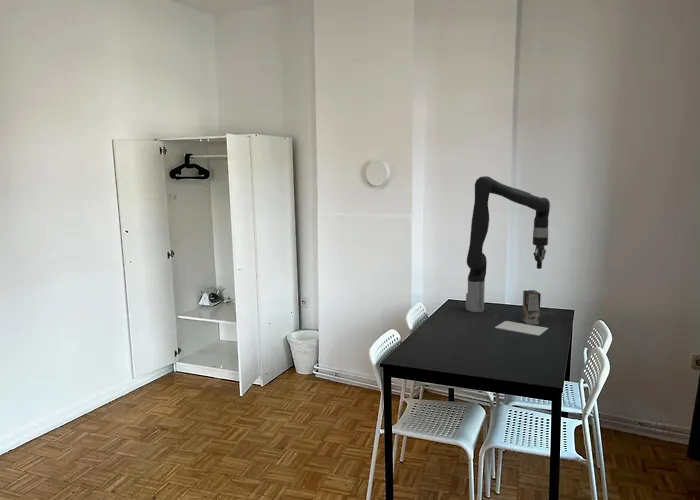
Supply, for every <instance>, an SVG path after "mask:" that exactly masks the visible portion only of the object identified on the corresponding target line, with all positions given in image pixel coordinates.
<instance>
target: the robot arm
mask: <svg viewBox="0 0 700 500" xmlns="http://www.w3.org/2000/svg"><path fill="white" fill-rule="evenodd" d="M490 194H493V195H496V196H497V195H498V196H499V197H503V198H505V199H507V200H508V201H510V202H513V203H516V204H519V205H522V206H524V207H528V209H532V210H534V211H535V217H534V218H533V219H534V220H533V230H532V245H533V246H535V249H534V252H533V256H534V260H535V261H536V269H538V270H540V269H541V270H542V268H543V266H542V265H543V260H544V259H545V255H546V253H547V249H545V247H546V246H548V245H549V215H550V210H551V203H550V200H549V199H548V198H547V197H543V196H542V197H540V196H537V195H534V194H532V193H530V192H527V191H524V190H522V189H518V188H515V187H512V186H508V185H506V184H504V183H502V182H500V181H497V180H495V179H494V178H492V177H490V176H488V175H486V176H480V177H478V178H477V179H476V180H475V182H474V203H473V204H474V205H473V208H472V209H473V211H472V216H471V217H472V218H471V225H470V237H469V238H470V239H469V247H468V251H467V256H466V265H467V267H468V268H469V273H468V275H467V293H465V310H466V311H468V312H471V313H482V312H484V311H485V287H486V286H485V280H486V275H487V263H488V262H487V256H486V255H485V253H484V252H483V248H484V246H483V245H484V243H485V241H486V237H487V235H488V232H489V224H490V211H489V198H490V197H489V196H490Z"/></svg>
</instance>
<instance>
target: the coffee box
mask: <svg viewBox="0 0 700 500" xmlns="http://www.w3.org/2000/svg"><path fill="white" fill-rule="evenodd" d="M522 291H523V293H522V294H523V295H522V316H521V317H522V321H523V322H524V324H527V325H536V326H539V325H540V317H541V316H540V315H541V298H542V297H541V293H540V292H539V291H537V290H535V289H531V290H530V289H529V290H522Z"/></svg>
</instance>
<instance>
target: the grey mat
mask: <svg viewBox="0 0 700 500" xmlns="http://www.w3.org/2000/svg"><path fill="white" fill-rule="evenodd" d="M494 329H498V330H505V331H508V332H509V331H510V332H514V333H515V332H516V333H519V334H520V333H521V334H526V335H531V336H537V337H540V336H541V335H542V334H544V333H545V332H546V331H548V329H549V327H544V326H539V325H534V324H527V323H521V322H516V321H509V320H504V321H503V322H501V323H499V324H498V325H496V326H495V327H494Z"/></svg>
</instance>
